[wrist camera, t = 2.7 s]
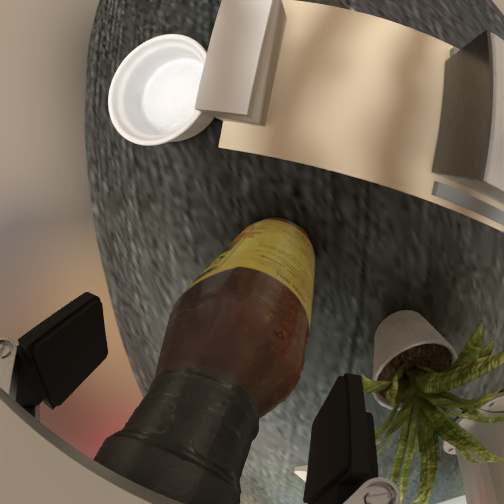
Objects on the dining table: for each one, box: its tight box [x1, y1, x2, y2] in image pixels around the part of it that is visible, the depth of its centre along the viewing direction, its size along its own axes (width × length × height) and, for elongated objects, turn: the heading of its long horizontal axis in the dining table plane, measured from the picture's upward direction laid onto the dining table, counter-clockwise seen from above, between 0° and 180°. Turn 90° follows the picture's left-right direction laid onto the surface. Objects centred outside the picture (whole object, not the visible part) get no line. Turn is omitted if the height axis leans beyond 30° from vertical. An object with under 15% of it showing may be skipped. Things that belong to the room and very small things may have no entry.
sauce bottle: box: [93, 217, 315, 504], centre depth 13 cm, size 7×6×20 cm
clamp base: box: [194, 0, 504, 232], centre depth 14 cm, size 26×13×7 cm, turn 80°
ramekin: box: [108, 34, 214, 145], centre depth 19 cm, size 9×9×4 cm
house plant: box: [361, 310, 504, 504], centre depth 15 cm, size 14×14×16 cm
